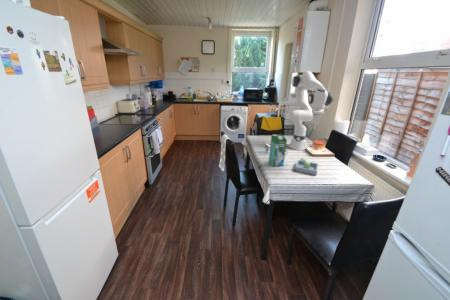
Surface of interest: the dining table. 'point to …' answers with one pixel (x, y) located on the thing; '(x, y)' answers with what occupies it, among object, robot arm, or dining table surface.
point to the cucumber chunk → (307, 165)
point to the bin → (300, 168)
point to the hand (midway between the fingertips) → (314, 127)
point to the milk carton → (277, 150)
